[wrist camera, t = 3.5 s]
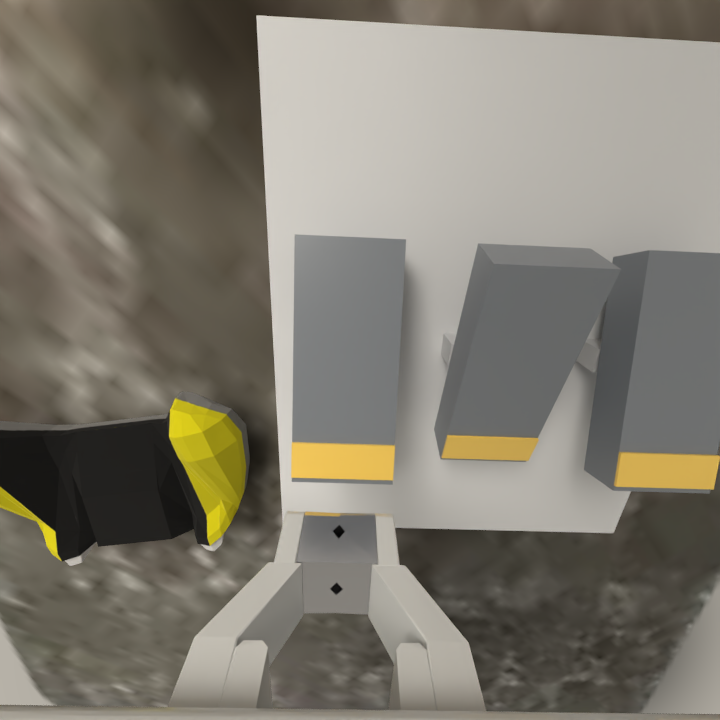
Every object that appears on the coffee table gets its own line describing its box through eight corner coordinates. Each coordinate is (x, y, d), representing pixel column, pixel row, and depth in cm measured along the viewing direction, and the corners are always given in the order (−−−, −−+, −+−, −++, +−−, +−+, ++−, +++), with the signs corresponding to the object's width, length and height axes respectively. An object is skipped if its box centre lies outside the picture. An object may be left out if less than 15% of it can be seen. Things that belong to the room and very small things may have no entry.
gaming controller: (-8, 389, 21) (67, 518, 25) (-124, 446, 16) (-8, 598, 20) (245, 357, 20) (283, 495, 24) (209, 406, 15) (263, 571, 19)
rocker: (477, 243, 11) (495, 265, 9) (590, 248, 11) (623, 271, 9) (433, 429, 16) (440, 461, 14) (512, 431, 16) (526, 463, 14)
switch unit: (286, 74, 15) (243, -10, 9) (680, 95, 16) (871, 28, 10) (297, 464, 23) (277, 550, 17) (561, 472, 23) (629, 559, 18)
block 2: (613, 257, 13) (652, 249, 11) (706, 261, 13) (759, 254, 11) (583, 469, 14) (615, 492, 12) (669, 472, 14) (712, 494, 12)
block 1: (302, 243, 13) (294, 233, 11) (399, 247, 13) (406, 238, 11) (298, 461, 14) (290, 483, 12) (388, 464, 14) (392, 486, 12)
